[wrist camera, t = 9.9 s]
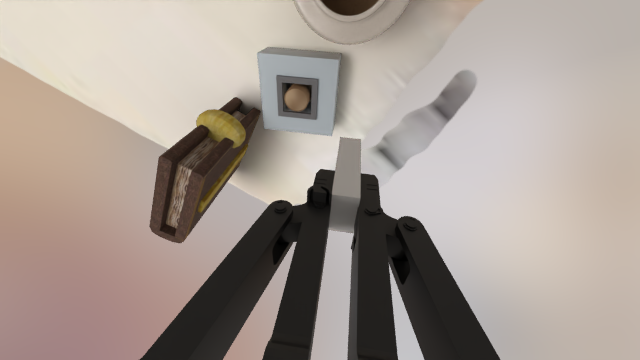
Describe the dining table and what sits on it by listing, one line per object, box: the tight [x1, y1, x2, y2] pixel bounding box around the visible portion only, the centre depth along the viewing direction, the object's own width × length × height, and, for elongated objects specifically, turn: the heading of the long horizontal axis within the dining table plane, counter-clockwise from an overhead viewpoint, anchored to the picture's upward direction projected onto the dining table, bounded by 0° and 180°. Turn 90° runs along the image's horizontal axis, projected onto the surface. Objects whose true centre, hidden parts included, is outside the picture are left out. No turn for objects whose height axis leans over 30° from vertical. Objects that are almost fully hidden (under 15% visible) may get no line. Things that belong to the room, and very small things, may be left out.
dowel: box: [284, 83, 312, 112], centre depth 47 cm, size 4×4×6 cm
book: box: [150, 97, 261, 243], centre depth 49 cm, size 22×8×25 cm, turn 151°
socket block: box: [257, 47, 341, 136], centre depth 48 cm, size 14×14×7 cm
